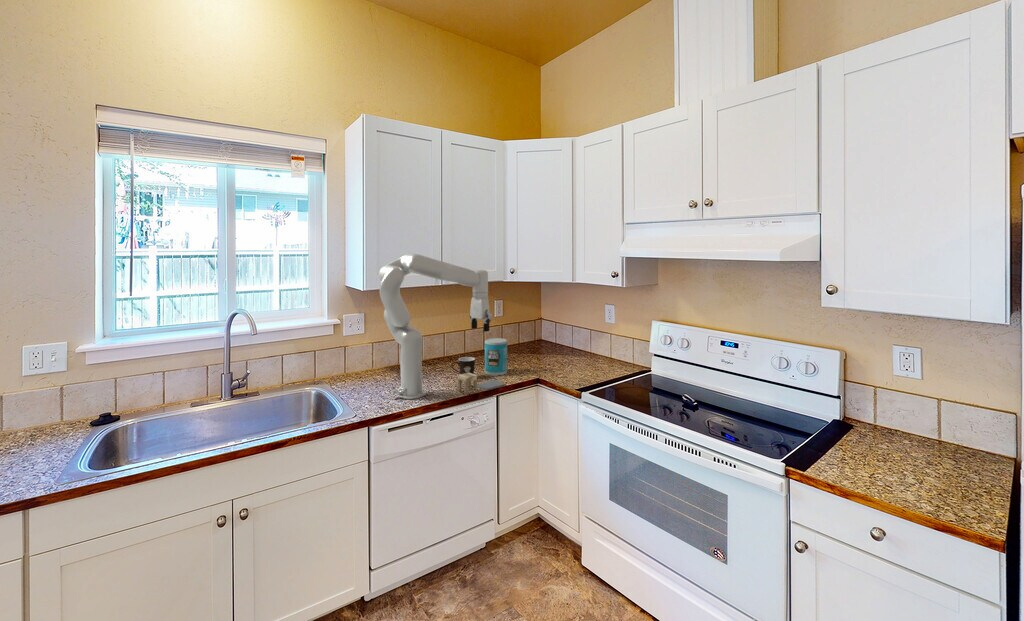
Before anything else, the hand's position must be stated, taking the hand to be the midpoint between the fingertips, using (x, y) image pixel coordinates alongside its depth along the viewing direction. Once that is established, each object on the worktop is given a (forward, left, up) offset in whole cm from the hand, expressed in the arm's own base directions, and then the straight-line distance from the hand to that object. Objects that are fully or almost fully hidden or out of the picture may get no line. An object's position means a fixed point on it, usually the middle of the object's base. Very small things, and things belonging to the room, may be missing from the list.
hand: (480, 329), depth 221 cm
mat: (+1, -8, -27) cm, 28 cm away
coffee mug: (-1, +12, -27) cm, 30 cm away
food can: (+17, +8, -27) cm, 33 cm away
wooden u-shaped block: (-13, -8, -27) cm, 31 cm away
